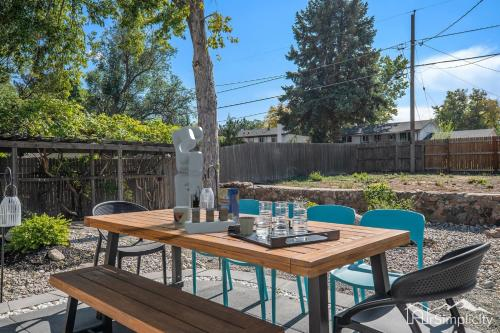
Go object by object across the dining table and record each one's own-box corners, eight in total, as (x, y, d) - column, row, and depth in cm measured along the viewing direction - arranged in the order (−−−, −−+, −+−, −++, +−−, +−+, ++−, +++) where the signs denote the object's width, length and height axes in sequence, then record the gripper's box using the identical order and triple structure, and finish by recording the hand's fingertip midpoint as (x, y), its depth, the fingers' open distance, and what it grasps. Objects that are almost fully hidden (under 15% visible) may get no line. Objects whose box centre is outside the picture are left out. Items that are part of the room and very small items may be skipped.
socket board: (184, 230, 215) (184, 221, 215) (228, 227, 225) (228, 219, 225) (189, 233, 204) (189, 224, 204) (235, 230, 214) (235, 221, 214)
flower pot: (258, 233, 204) (258, 216, 204) (252, 236, 195) (252, 219, 196) (241, 232, 208) (241, 216, 208) (235, 235, 199) (235, 218, 199)
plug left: (191, 223, 213) (191, 208, 213) (198, 222, 214) (198, 208, 214) (193, 223, 209) (193, 209, 209) (200, 223, 211) (200, 208, 211)
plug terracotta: (219, 221, 219) (219, 207, 219) (225, 220, 220) (225, 206, 220) (221, 222, 215) (221, 207, 215) (228, 221, 217) (228, 207, 217)
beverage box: (226, 222, 246) (225, 188, 246) (239, 224, 239) (238, 188, 239) (218, 224, 241) (218, 188, 241) (231, 225, 234) (231, 189, 234)
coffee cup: (169, 227, 226) (169, 207, 226) (179, 225, 234) (179, 206, 234) (182, 228, 221) (182, 207, 221) (192, 226, 230) (192, 206, 230)
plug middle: (205, 222, 216) (205, 207, 216) (212, 221, 217) (212, 207, 217) (207, 223, 212) (207, 208, 212) (214, 222, 214) (214, 208, 214)
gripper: (185, 174, 217) (186, 206, 217) (192, 174, 204) (192, 209, 203) (198, 173, 220) (199, 206, 220) (206, 174, 206) (206, 208, 206)
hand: (195, 207), depth 212 cm, fingers closed
